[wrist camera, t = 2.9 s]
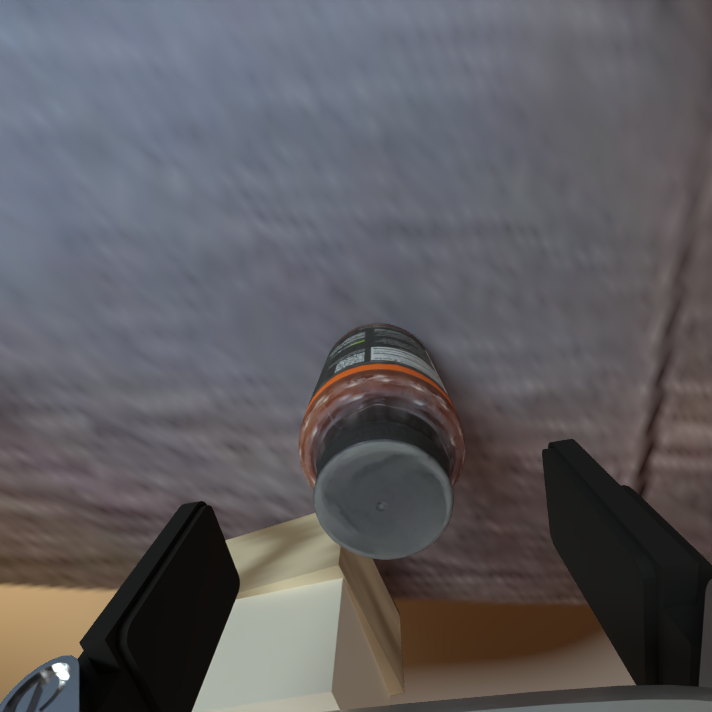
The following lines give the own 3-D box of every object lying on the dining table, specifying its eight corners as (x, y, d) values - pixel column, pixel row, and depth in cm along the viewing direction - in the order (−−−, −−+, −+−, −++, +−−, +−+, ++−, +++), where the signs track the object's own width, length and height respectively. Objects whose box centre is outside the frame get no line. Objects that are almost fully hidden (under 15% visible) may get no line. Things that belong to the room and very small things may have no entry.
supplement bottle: (389, 437, 22) (400, 621, 12) (306, 382, 22) (236, 524, 11) (454, 361, 21) (536, 491, 10) (366, 298, 20) (355, 366, 9)
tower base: (345, 500, 24) (338, 565, 20) (399, 612, 27) (404, 692, 22) (211, 542, 26) (174, 610, 21) (274, 643, 28) (253, 725, 24)
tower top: (342, 578, 20) (331, 691, 15) (389, 693, 22) (393, 824, 17) (189, 608, 21) (131, 722, 16) (250, 715, 23) (215, 843, 18)
